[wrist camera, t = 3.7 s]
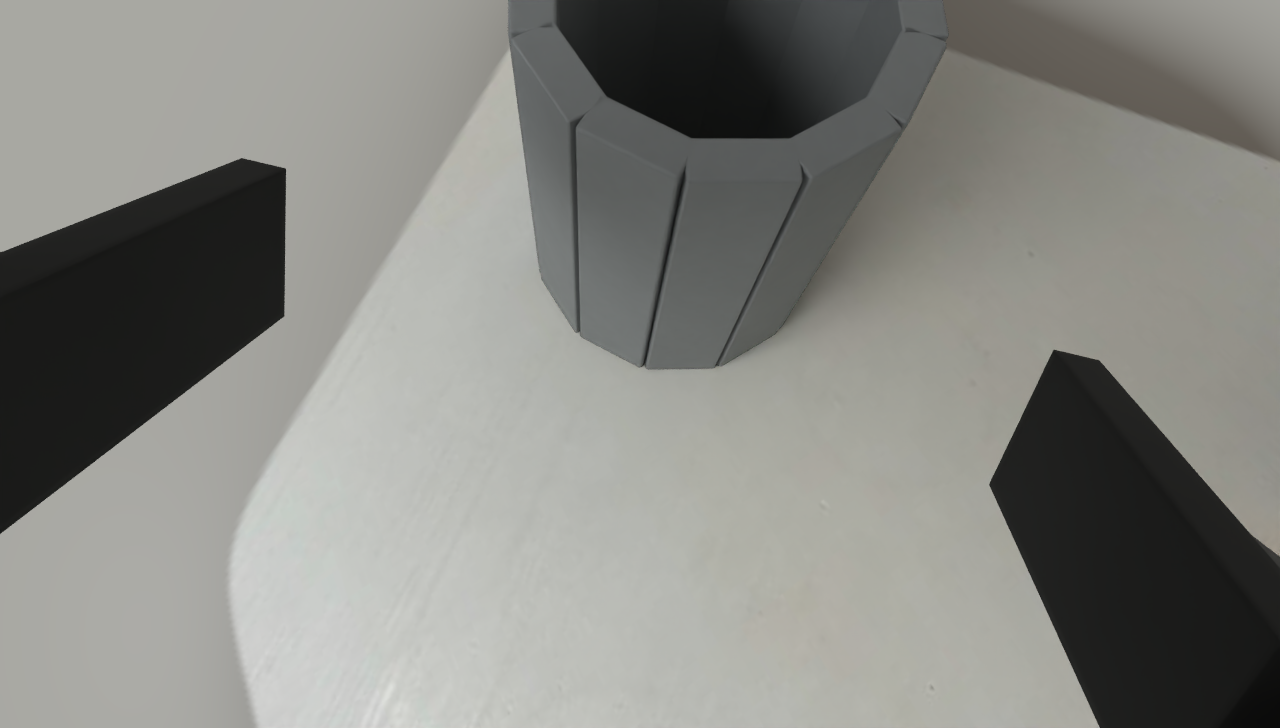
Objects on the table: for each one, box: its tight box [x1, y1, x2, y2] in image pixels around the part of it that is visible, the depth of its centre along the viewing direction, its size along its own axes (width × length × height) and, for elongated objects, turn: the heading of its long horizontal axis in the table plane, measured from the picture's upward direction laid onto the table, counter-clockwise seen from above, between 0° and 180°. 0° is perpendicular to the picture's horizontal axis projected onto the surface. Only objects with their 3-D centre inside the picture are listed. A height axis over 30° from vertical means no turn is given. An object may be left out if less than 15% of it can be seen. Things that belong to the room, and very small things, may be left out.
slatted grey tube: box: [508, 0, 949, 369], centre depth 23 cm, size 9×9×12 cm
